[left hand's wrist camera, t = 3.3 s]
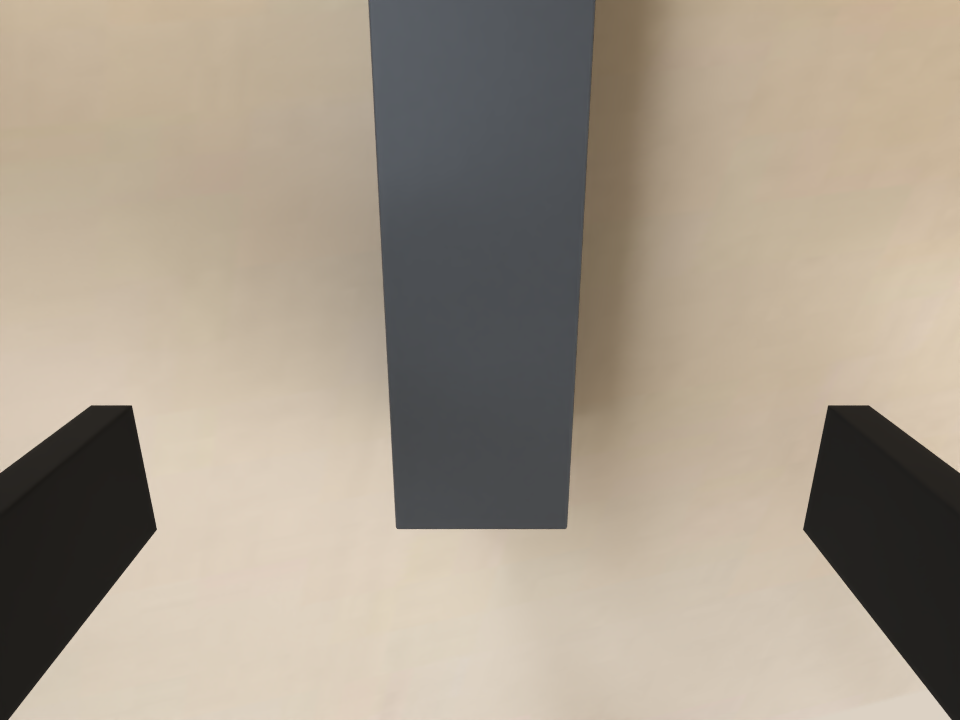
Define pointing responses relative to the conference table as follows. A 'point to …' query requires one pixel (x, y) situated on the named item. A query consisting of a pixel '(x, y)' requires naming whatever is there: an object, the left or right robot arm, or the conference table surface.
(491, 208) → the beam
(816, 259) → the conference table surface
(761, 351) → the conference table surface
